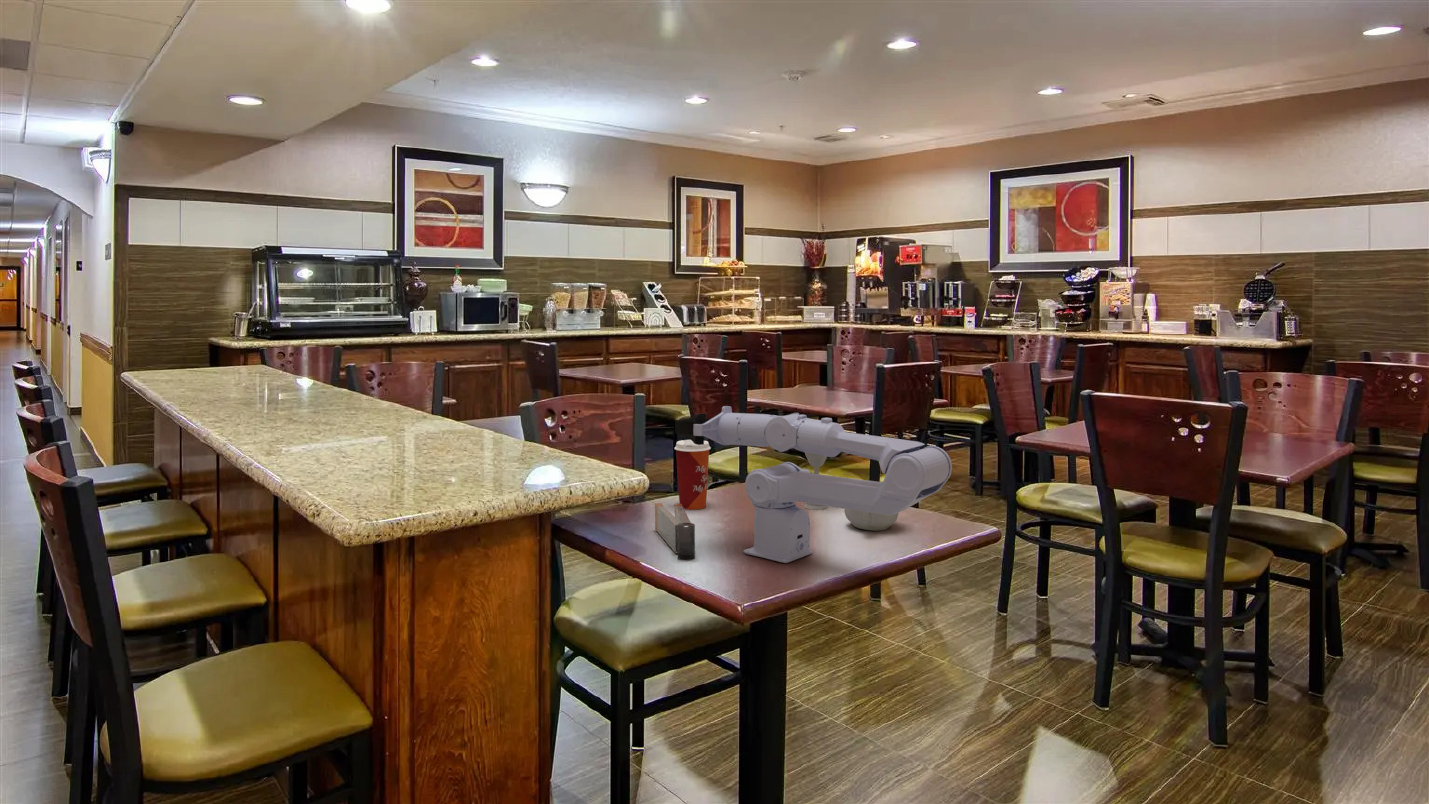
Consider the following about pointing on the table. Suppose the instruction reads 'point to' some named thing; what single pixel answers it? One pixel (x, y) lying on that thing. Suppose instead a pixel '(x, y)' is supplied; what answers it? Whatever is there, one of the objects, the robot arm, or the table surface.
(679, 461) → the paper cup
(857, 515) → the teacup
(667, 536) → the tongs moving arm
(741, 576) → the table surface
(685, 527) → the tongs fixed arm
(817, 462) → the chalice
